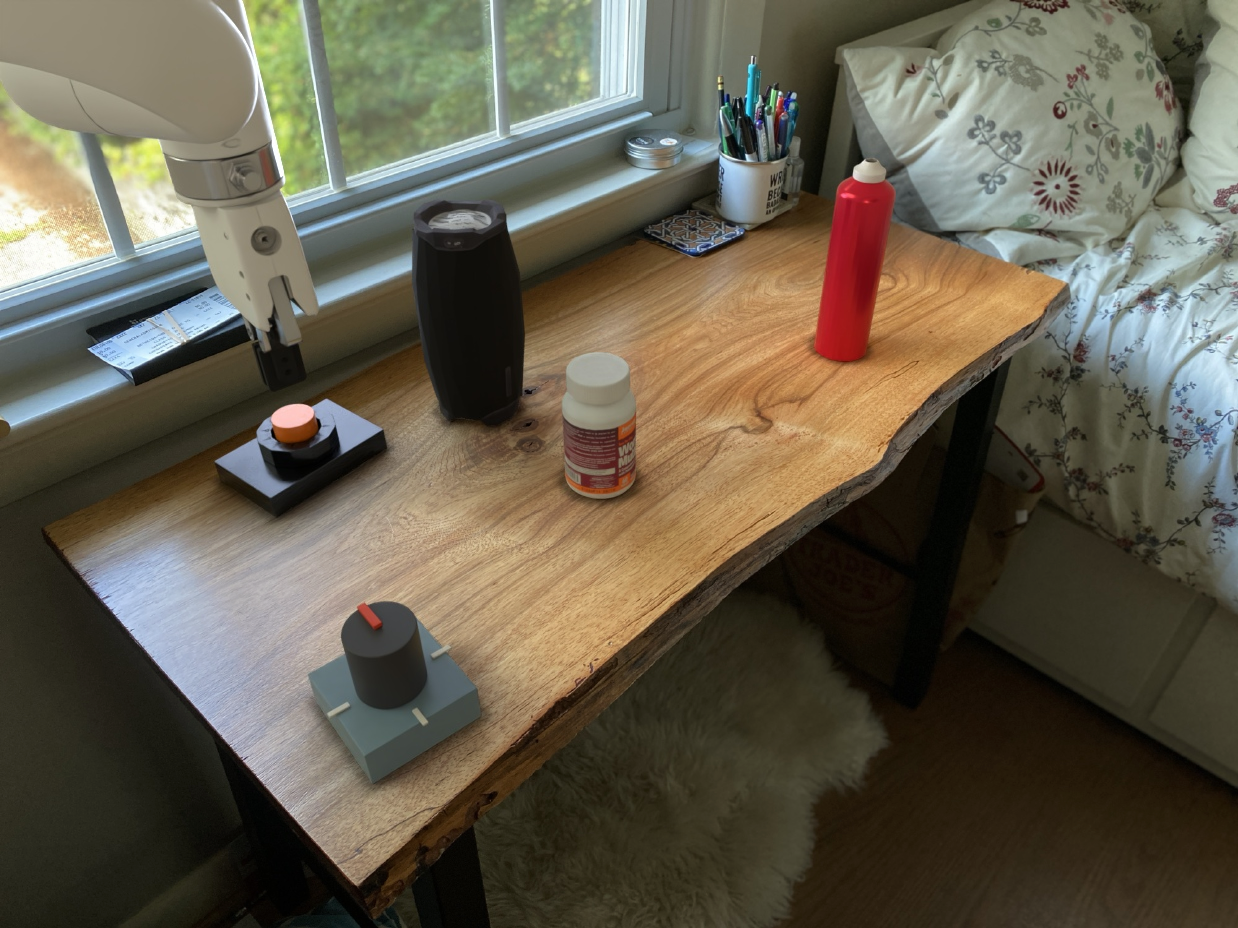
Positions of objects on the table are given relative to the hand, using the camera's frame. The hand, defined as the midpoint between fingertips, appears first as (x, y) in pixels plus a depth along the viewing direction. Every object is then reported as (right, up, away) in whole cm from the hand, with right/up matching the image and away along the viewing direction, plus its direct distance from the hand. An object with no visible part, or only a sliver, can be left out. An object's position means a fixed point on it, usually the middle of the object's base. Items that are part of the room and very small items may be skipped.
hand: (285, 381), depth 78 cm
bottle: (+51, +5, +21) cm, 55 cm away
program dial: (+13, -21, -17) cm, 30 cm away
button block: (0, -7, +5) cm, 9 cm away
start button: (0, -4, +3) cm, 5 cm away
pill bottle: (+26, -8, +4) cm, 28 cm away
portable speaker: (+14, -1, +12) cm, 19 cm away
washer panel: (+13, -23, -15) cm, 31 cm away
